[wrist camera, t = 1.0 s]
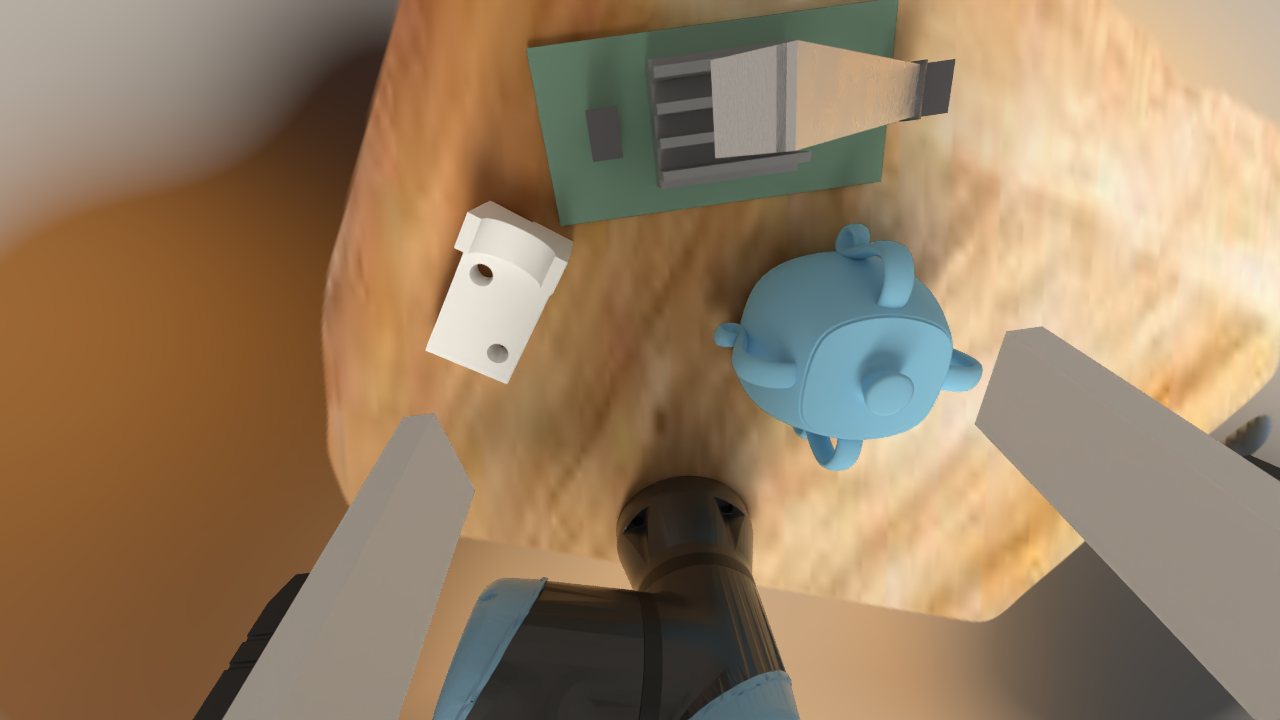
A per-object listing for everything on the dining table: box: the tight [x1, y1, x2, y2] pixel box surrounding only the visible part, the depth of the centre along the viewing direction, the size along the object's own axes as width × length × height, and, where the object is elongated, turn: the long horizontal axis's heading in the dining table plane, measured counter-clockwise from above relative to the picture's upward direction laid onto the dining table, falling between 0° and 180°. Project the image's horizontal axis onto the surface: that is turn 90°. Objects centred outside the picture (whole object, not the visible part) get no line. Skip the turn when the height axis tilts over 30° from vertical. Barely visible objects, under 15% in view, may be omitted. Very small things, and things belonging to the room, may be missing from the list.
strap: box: [711, 40, 928, 158], centre depth 22 cm, size 3×23×3 cm
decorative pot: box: [714, 223, 983, 471], centre depth 37 cm, size 16×16×14 cm
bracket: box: [425, 201, 574, 384], centre depth 36 cm, size 13×7×8 cm, turn 151°
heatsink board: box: [526, 0, 955, 226], centre depth 32 cm, size 12×27×6 cm, turn 97°
